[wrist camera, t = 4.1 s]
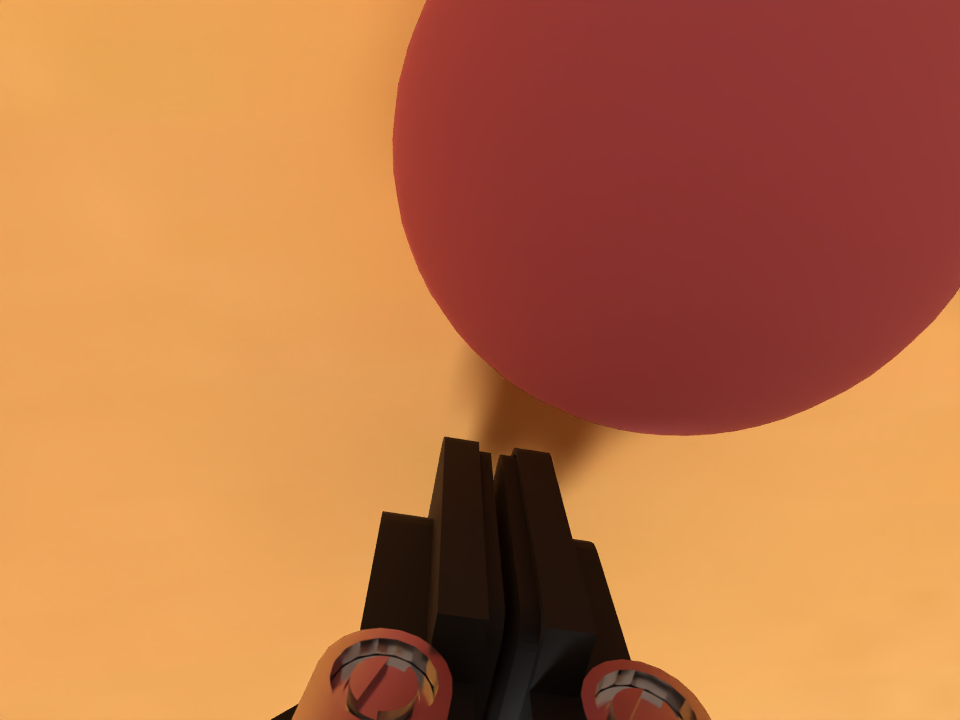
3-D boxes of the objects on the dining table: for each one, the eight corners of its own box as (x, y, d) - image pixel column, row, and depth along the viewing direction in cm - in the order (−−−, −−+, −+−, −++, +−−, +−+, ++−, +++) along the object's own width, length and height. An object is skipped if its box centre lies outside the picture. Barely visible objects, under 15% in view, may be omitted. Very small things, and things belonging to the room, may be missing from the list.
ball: (485, -351, 3) (579, -388, 7) (259, 420, 7) (397, 122, 11) (1459, 256, 4) (1047, -83, 8) (745, 593, 8) (713, 268, 12)
